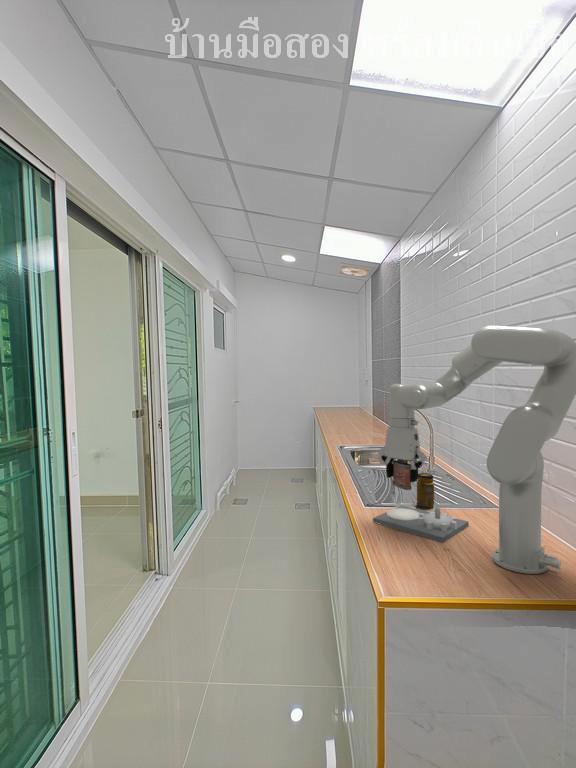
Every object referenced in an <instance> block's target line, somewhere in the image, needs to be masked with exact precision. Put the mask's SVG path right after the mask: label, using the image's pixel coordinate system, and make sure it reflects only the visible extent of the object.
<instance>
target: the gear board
mask: <svg viewBox="0 0 576 768" xmlns="http://www.w3.org/2000/svg"><path fill="white" fill-rule="evenodd" d="M373 521H374V522H377V523H380V524H382V525H381V526H384V525H386V526H385V527H387V526H388V527H387V528H392V529H395V530H397V531H402V532H405V533H409V534H412V535H415V536H419V537H423V538H425V539H429V540H432V541H436V542H440V543H445V542H447V541H448V540H449V539H451V538H452V537H454V536H455V535H457V534H458V533H461V532H462V531H464V529H467V528H468V527H469V526H470V523H469V520H464V519H460V518H458V517H456V516H449V513H447V512H443V513H441V507H436V508H435V511H423V510H419V509H416V508H414V507H410V506H406V505H399V506H397V507H395V508H391V509H388V510H387V511H385V512H383V513H381V514H379V515H377V516H374V517H373V518H372V522H373ZM377 523H376V524H377ZM380 524H379V525H380Z"/></svg>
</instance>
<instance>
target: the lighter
mask: <svg viewBox="0 0 576 768" xmlns="http://www.w3.org/2000/svg"><path fill="white" fill-rule="evenodd" d="M392 464H393V477H392V485H393V486H395V487H396V488H399V489H401V490H404V491H410V490H412V482H411V481H410V470H411V469H412V467H411V465H410V463H409V461H406V460H399V459H394V460H393V462H392Z"/></svg>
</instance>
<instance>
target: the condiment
mask: <svg viewBox="0 0 576 768" xmlns="http://www.w3.org/2000/svg"><path fill="white" fill-rule="evenodd" d="M413 505H414V507H415V509H419V510H423V511H427V512H435V508H437V507H436V506H435V482H434V476H433V474H432V473H428V472H421V473H420V472H419V473H418V479H417V481H416V502H414V503H413Z"/></svg>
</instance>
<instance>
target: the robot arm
mask: <svg viewBox="0 0 576 768" xmlns="http://www.w3.org/2000/svg"><path fill="white" fill-rule="evenodd" d="M503 362H504V363H505V362H506V363H507V362H508V363H515V364H524V365H532V366H543V372H542V374H541V375H540V377H539V378H538V380H537V381H536V384H535V385H534V388H533V390H532V392H531V394H530V396H529V398H528V400H527V402H525V404H523V405H521V406H518V407H516V408H514V409H513V410H512V411H510V412H509V414H508V415H507V416H506V417H505V419H504V421H503V423H502V425H501V426H500V429H499V431H498V433H497V435H496V436H495V440H494V441H493V443H492V446H491V448H490V450H489V453H488V454H487V459H486V470H487V472H488V473H489V475H490V477H491V478H492V479H493V480H495V482H497V483H499V488H498V549H496V550H494V551H493V552H492V553H491V554H492V558H491V559H492V560H493V562H494V563H495V564H496V565H498V566H500V567H501V568H503V569H505V570H509V571H511V572H515V573H521V574H526V575H538V574H542V573H545V572H546V571H548V569H549V567H551V568H553V569H554V568H555V569H558V570H561V566H562V562H561V560H559V559H558V557H557V556H554V555H549V554H547V553H546V549H545V547H543V546H542V488H543V487H542V486H543V480H544V479H543V476H544V469H545V460H544V456H543V453H542V451H541V449H542V448H543V446H544V444H545V443H546V442H548V441H549V440H551V439H552V438H554V437H555V436H556V435H557V434H558V432H559V430H560V428H561V425H562V423H563V421H564V419H565V417H566V416H567V414H568V412H569V409H570V408H571V406H572V404H573V401H574V399H575V397H576V341H575V340H574V339H573V338H572V337H571V336H569V335H568V334H566V333H564V332H561V331H559V330H554V329H548V328H544V327H543V328H541V327H519V326H505V325H504V326H503V325H494V324H490V325H486V326H483V327H481V328H478V330H476V331H475V333H474V334H473V335H472V338H471V341H470V345H467V347H466V348H464V349H463V350H462V351H459V353H457V354H456V355H455V356H454V357H452V359H451V367H450V368H449V370H448V371H447V372H446V373H445V374H443V375H441V376H440V377H438V378H437V379H436V380H435V381H432V382H430V383H429V382H425V383H416V384H410V383H393V384H391V385H390V387H389V426H387V429H386V435H385V444H384V446H383V447H382V448H381V447H380V448H379V450H378V451H377V452H378V455H379V456H380V458H381V459H382V461H383V462H384V465H385V466H386V467H385V468H386V469H385V473H386V478H388V479H390V478H393V461H394V460H397V459H399V460H406V461H408V463H409V464H410V465H411V470H410V481H411V483H415V482H417V481H418V474H419V469H420V468H421V466H423V465H424V464H425V462H426V461H427V460H428V456H427V455H426V454H425V453H424V452H423V451H422V450H421V444H420V443H421V442H420V436H419V430H418V428H417V427H416V426H418V425H419V421H418V420H416V419H415V409H416V410H425V409H432V408H433V409H434V408H439V407H440V406H443V405H445V404H446V403H447V402H450V401H451V400H452V399H454V398H456V397H457V396H458V395H460V394H462V392H464V391H465V390H466V389H467V388H469V387H470V386H471V385H472V383H473V382H474V381H476V380H477V379H479V378H480V377H482V376H483V375H485V374H487V373H488V372H489V371H491V370H492V369H494V368H496V367H497V366H498V365H501V364H502V363H503Z"/></svg>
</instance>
